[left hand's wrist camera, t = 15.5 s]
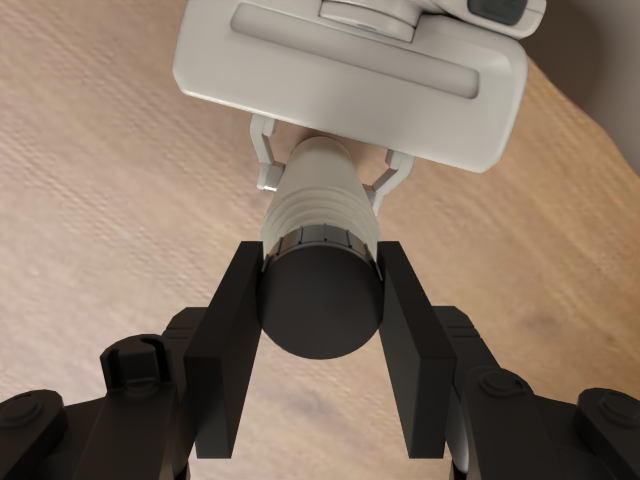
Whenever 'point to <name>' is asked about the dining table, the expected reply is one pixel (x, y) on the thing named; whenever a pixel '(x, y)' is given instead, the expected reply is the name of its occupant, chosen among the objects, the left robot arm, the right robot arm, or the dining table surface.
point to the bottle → (320, 195)
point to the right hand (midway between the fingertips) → (317, 201)
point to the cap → (320, 293)
